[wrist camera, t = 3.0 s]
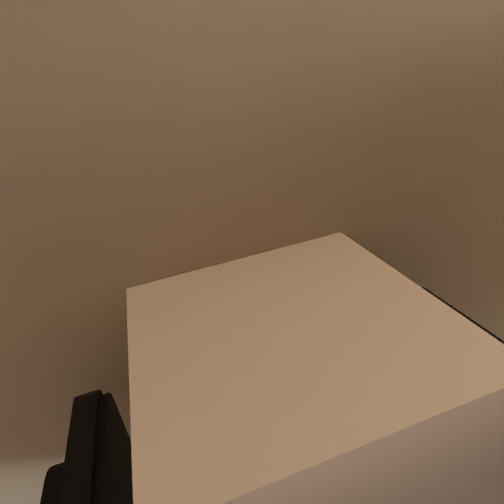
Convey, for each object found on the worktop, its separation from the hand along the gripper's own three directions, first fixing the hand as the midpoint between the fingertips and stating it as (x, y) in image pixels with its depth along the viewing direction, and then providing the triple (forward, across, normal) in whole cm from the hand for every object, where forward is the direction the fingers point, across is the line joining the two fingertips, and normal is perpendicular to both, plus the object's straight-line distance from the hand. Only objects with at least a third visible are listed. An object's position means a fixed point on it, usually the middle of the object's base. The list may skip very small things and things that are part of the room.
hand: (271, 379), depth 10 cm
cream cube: (+2, 0, 0) cm, 2 cm away
